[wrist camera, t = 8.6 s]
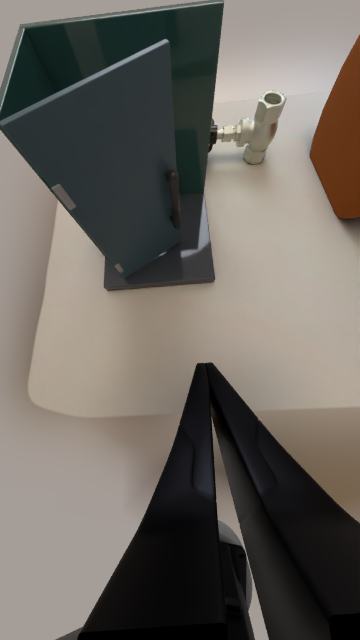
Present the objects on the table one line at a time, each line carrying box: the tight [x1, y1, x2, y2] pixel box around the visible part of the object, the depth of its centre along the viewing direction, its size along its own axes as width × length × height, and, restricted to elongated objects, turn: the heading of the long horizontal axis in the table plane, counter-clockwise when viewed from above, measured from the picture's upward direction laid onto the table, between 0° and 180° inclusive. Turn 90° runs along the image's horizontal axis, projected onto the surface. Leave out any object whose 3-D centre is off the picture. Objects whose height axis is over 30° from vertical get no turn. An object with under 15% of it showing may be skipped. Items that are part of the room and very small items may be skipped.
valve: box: [208, 91, 286, 164], centre depth 25 cm, size 7×7×12 cm
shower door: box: [0, 39, 181, 278], centre depth 15 cm, size 2×10×15 cm, turn 126°
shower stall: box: [0, 0, 224, 291], centre depth 18 cm, size 16×16×15 cm
